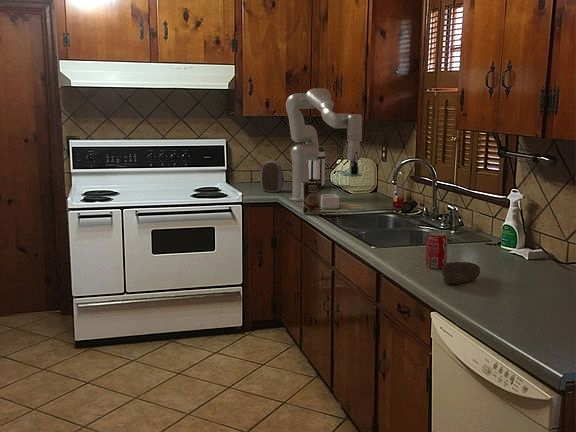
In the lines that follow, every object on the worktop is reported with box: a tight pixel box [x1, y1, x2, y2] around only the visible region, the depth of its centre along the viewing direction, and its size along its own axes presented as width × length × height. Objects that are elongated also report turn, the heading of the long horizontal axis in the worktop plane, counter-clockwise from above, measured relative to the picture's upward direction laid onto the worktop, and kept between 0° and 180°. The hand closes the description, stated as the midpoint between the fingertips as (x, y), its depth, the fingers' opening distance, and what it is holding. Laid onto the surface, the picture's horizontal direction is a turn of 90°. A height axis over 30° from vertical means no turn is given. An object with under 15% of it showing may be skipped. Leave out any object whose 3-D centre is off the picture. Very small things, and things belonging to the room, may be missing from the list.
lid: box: [339, 164, 363, 178], centre depth 324 cm, size 15×10×6 cm, turn 5°
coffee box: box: [299, 182, 322, 216], centre depth 307 cm, size 9×6×16 cm
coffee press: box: [306, 145, 326, 190], centre depth 394 cm, size 17×16×30 cm
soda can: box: [425, 231, 448, 270], centre depth 209 cm, size 7×7×12 cm
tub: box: [321, 193, 340, 210], centre depth 328 cm, size 12×9×6 cm
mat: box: [339, 202, 365, 210], centre depth 329 cm, size 18×12×1 cm, turn 5°
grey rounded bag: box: [260, 159, 285, 193], centre depth 379 cm, size 15×8×20 cm, turn 72°
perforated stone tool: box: [442, 261, 481, 285], centre depth 192 cm, size 15×5×7 cm, turn 113°
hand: (353, 173), depth 318 cm, fingers closed on lid, 3 cm apart
